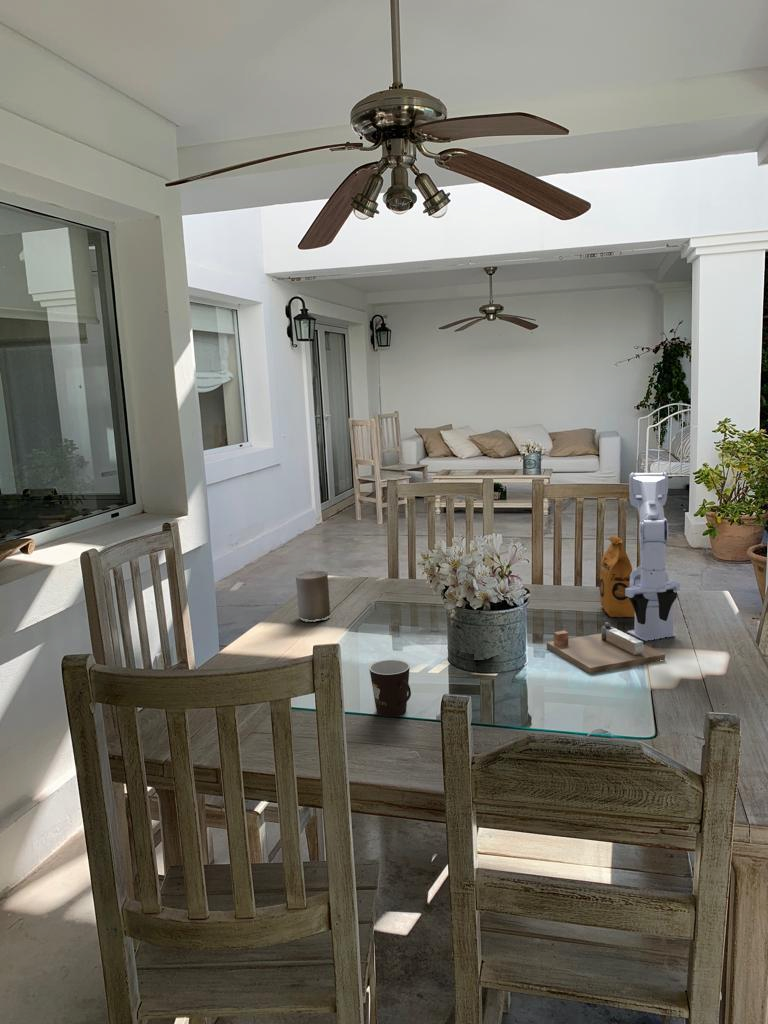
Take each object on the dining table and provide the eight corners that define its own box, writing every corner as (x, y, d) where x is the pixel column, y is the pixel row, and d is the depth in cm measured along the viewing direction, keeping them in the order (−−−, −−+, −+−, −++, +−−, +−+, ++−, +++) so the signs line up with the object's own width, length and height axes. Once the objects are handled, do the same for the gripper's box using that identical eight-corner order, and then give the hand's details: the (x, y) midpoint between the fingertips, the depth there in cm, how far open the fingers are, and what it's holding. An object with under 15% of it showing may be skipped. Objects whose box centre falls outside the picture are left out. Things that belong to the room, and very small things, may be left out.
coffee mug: (370, 704, 173) (368, 661, 172) (409, 701, 174) (407, 658, 172) (374, 727, 162) (371, 681, 160) (415, 724, 163) (413, 678, 161)
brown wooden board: (616, 636, 210) (616, 620, 209) (664, 660, 191) (665, 642, 191) (546, 647, 204) (546, 631, 203) (590, 673, 185) (590, 655, 184)
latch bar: (598, 637, 204) (598, 622, 204) (609, 635, 205) (609, 620, 205) (633, 655, 191) (633, 638, 190) (644, 653, 192) (644, 636, 191)
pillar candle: (337, 615, 240) (333, 567, 238) (317, 624, 232) (314, 575, 229) (311, 612, 245) (308, 565, 243) (291, 620, 237) (288, 572, 235)
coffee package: (602, 618, 226) (603, 543, 222) (597, 606, 238) (597, 534, 234) (638, 618, 224) (639, 543, 221) (631, 606, 236) (632, 534, 233)
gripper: (637, 575, 187) (637, 630, 189) (688, 568, 191) (687, 621, 193) (620, 568, 193) (619, 622, 195) (669, 562, 198) (668, 614, 200)
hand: (652, 621), depth 195 cm, fingers open, 6 cm apart
